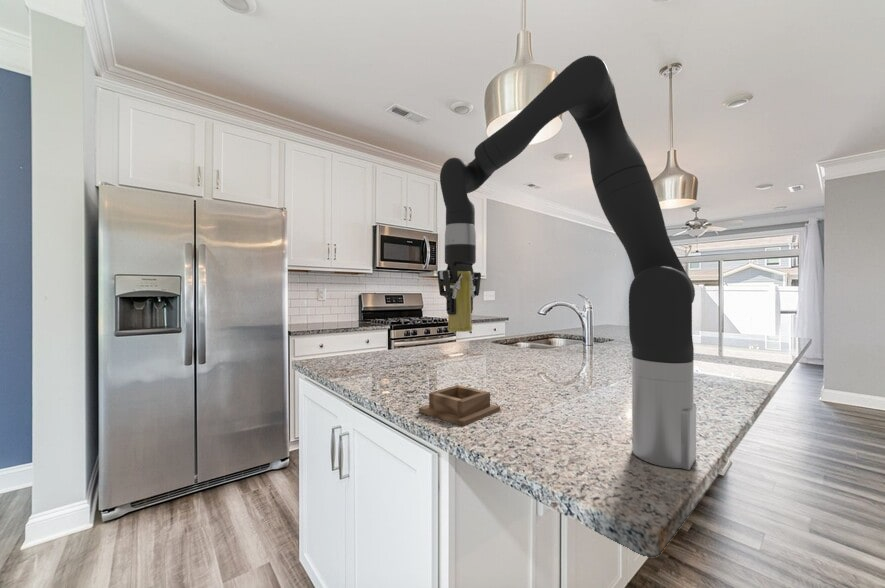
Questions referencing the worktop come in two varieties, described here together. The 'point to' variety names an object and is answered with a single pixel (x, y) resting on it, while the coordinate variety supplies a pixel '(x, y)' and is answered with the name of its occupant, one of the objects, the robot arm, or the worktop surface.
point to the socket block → (459, 405)
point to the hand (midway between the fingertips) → (460, 313)
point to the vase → (462, 305)
